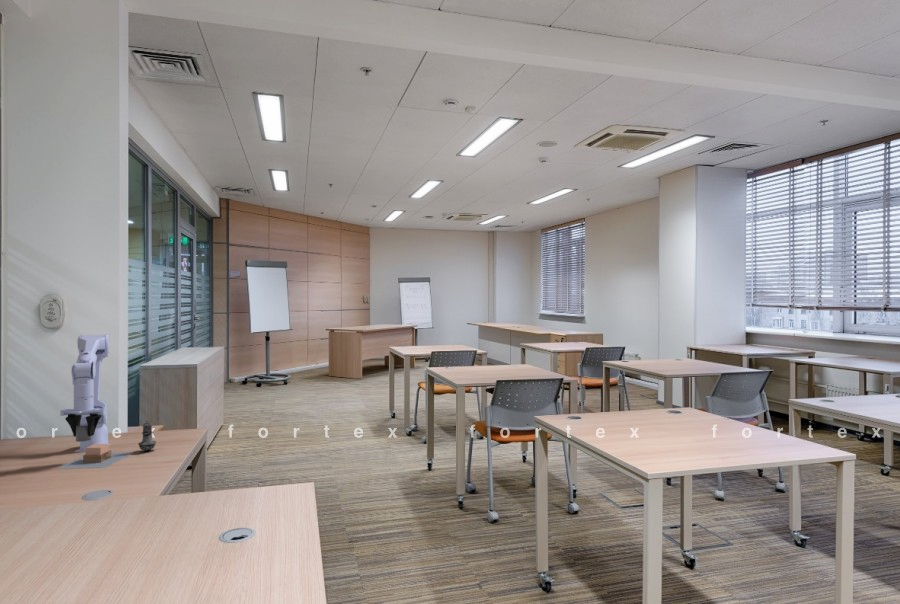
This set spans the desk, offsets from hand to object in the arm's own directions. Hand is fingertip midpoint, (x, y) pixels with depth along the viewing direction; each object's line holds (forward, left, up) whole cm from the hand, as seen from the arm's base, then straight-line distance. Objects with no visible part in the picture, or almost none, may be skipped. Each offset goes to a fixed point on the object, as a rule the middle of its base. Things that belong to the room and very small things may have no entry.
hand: (83, 435), depth 181 cm
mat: (-1, +4, -9) cm, 10 cm away
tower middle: (-1, +4, -6) cm, 8 cm away
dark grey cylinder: (0, 0, -1) cm, 1 cm away
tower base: (-1, +4, -9) cm, 10 cm away
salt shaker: (-11, +16, -10) cm, 22 cm away
